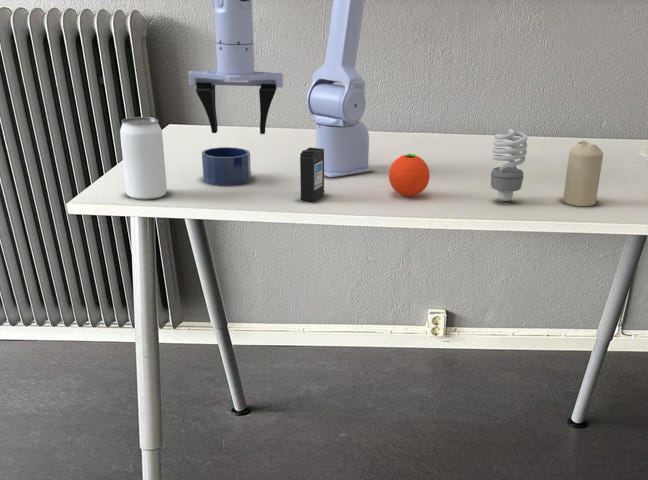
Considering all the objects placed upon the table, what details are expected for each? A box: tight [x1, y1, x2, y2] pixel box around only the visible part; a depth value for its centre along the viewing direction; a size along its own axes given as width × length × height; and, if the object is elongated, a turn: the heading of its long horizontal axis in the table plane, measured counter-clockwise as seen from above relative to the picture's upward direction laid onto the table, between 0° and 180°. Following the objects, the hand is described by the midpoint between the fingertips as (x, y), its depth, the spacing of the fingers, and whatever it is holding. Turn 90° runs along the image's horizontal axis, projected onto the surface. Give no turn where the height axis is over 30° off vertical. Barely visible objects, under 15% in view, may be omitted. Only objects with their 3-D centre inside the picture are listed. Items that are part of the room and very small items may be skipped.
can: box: [119, 116, 168, 201], centre depth 134 cm, size 6×6×12 cm
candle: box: [562, 140, 604, 207], centre depth 140 cm, size 6×6×10 cm
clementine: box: [388, 153, 431, 198], centre depth 141 cm, size 8×7×7 cm
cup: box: [201, 146, 252, 186], centre depth 147 cm, size 8×8×5 cm
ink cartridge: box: [299, 147, 326, 203], centre depth 137 cm, size 5×2×8 cm, turn 162°
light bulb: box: [490, 128, 528, 203], centre depth 138 cm, size 6×6×12 cm
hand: (238, 132), depth 135 cm, fingers open, 7 cm apart
